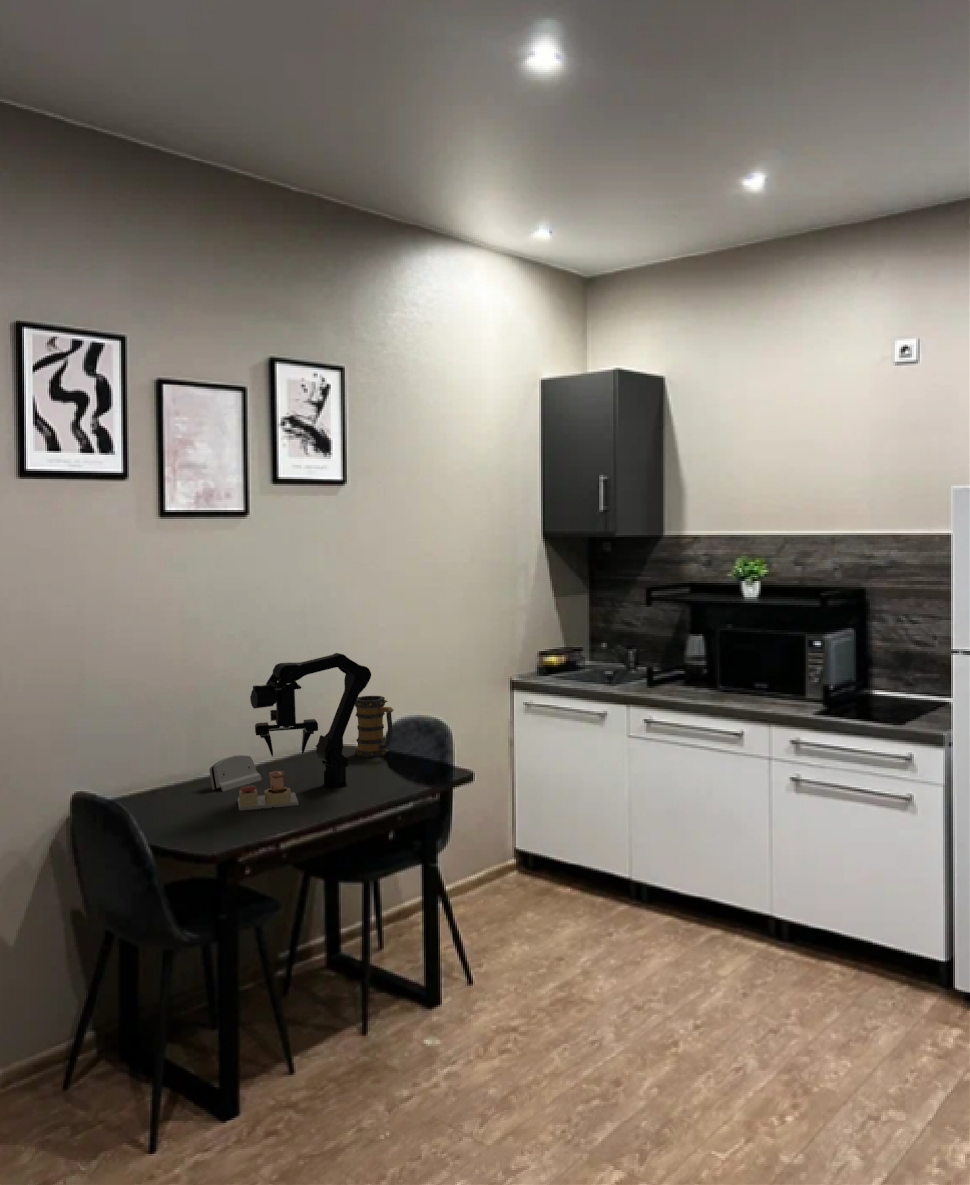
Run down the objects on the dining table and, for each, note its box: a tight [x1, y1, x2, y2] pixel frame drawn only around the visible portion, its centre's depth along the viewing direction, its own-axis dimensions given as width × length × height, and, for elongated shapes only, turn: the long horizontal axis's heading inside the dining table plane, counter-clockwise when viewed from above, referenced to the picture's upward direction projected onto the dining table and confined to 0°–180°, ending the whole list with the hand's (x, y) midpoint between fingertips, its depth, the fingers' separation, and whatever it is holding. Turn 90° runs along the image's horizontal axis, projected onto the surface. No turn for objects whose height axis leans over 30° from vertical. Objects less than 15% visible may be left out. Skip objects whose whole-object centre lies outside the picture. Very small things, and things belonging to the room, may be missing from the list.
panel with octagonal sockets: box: [237, 784, 299, 811], centre depth 307 cm, size 17×11×5 cm, turn 105°
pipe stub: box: [268, 770, 286, 793], centre depth 308 cm, size 5×5×8 cm
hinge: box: [209, 754, 263, 792], centre depth 330 cm, size 17×5×10 cm, turn 145°
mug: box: [353, 695, 395, 758], centre depth 367 cm, size 13×17×20 cm
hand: (287, 754), depth 317 cm, fingers open, 9 cm apart
